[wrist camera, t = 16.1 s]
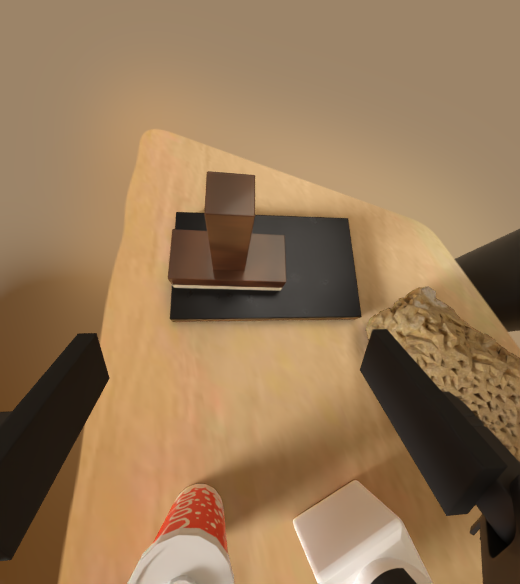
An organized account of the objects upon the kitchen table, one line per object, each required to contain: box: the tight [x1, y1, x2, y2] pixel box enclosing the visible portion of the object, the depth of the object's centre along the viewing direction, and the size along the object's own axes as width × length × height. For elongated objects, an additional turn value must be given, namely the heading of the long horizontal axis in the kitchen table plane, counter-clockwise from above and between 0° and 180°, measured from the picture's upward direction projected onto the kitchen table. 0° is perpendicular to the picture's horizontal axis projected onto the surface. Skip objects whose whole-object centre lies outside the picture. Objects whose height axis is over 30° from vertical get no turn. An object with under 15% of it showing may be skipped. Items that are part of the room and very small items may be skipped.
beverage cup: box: [127, 484, 235, 584], centre depth 16 cm, size 6×6×14 cm
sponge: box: [366, 287, 520, 462], centre depth 26 cm, size 13×8×20 cm
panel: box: [170, 212, 361, 322], centre depth 29 cm, size 20×12×2 cm, turn 92°
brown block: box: [168, 171, 286, 291], centre depth 22 cm, size 11×5×12 cm, turn 90°
